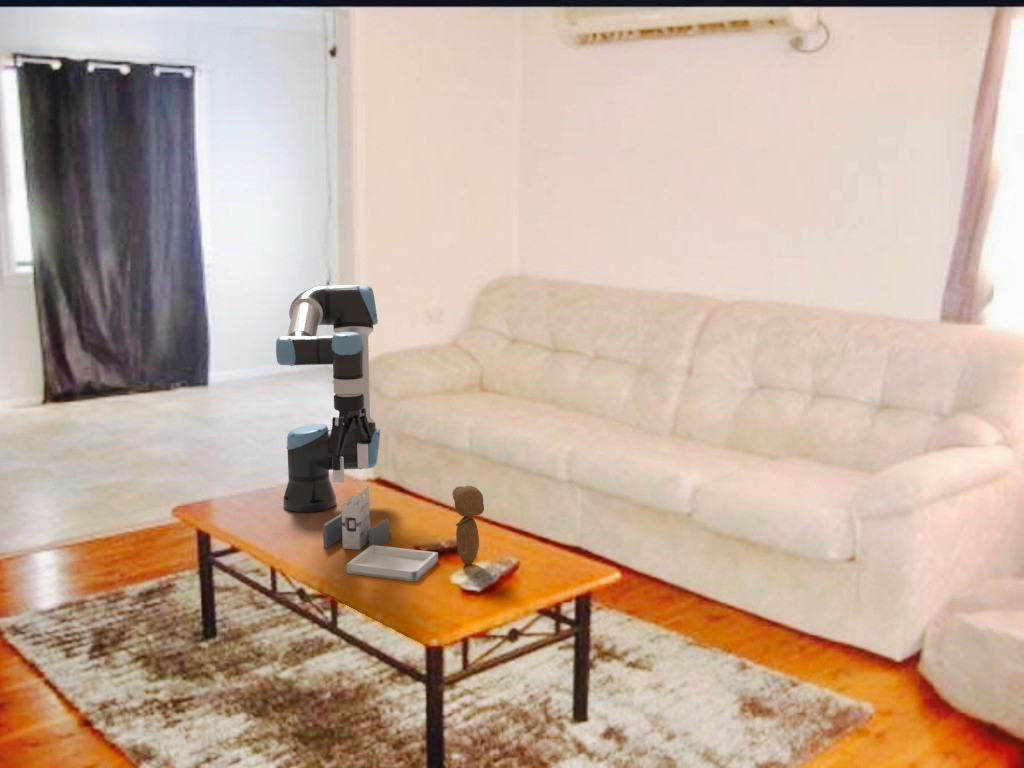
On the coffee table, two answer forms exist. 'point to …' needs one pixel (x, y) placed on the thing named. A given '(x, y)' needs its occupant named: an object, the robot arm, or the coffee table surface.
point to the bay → (376, 534)
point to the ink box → (356, 521)
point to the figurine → (467, 521)
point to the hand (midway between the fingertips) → (351, 474)
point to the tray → (392, 563)
